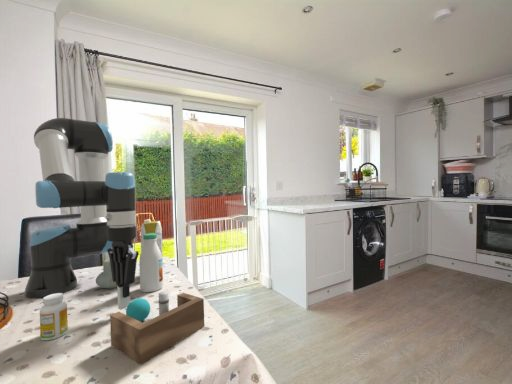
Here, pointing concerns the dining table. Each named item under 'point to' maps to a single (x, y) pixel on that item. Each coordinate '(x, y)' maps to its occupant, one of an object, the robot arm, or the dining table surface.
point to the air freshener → (106, 276)
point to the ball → (138, 309)
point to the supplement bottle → (53, 317)
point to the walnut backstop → (156, 329)
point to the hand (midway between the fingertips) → (124, 307)
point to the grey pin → (163, 302)
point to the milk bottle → (150, 265)
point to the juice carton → (152, 228)
